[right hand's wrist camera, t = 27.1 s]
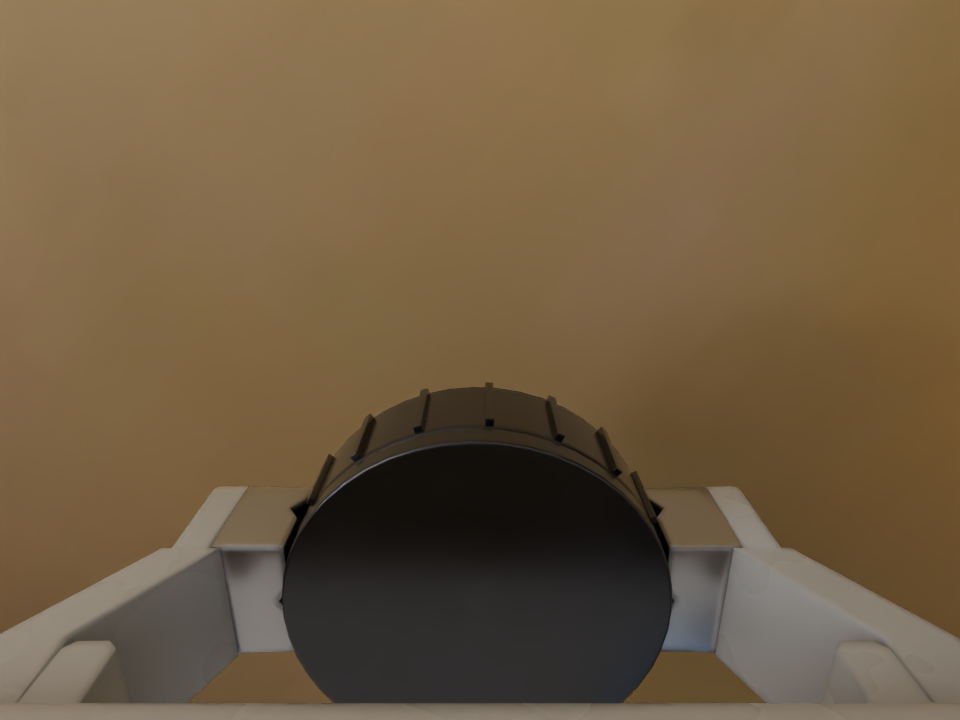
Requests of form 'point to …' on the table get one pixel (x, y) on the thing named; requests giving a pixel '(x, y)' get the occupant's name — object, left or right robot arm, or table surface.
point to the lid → (477, 559)
